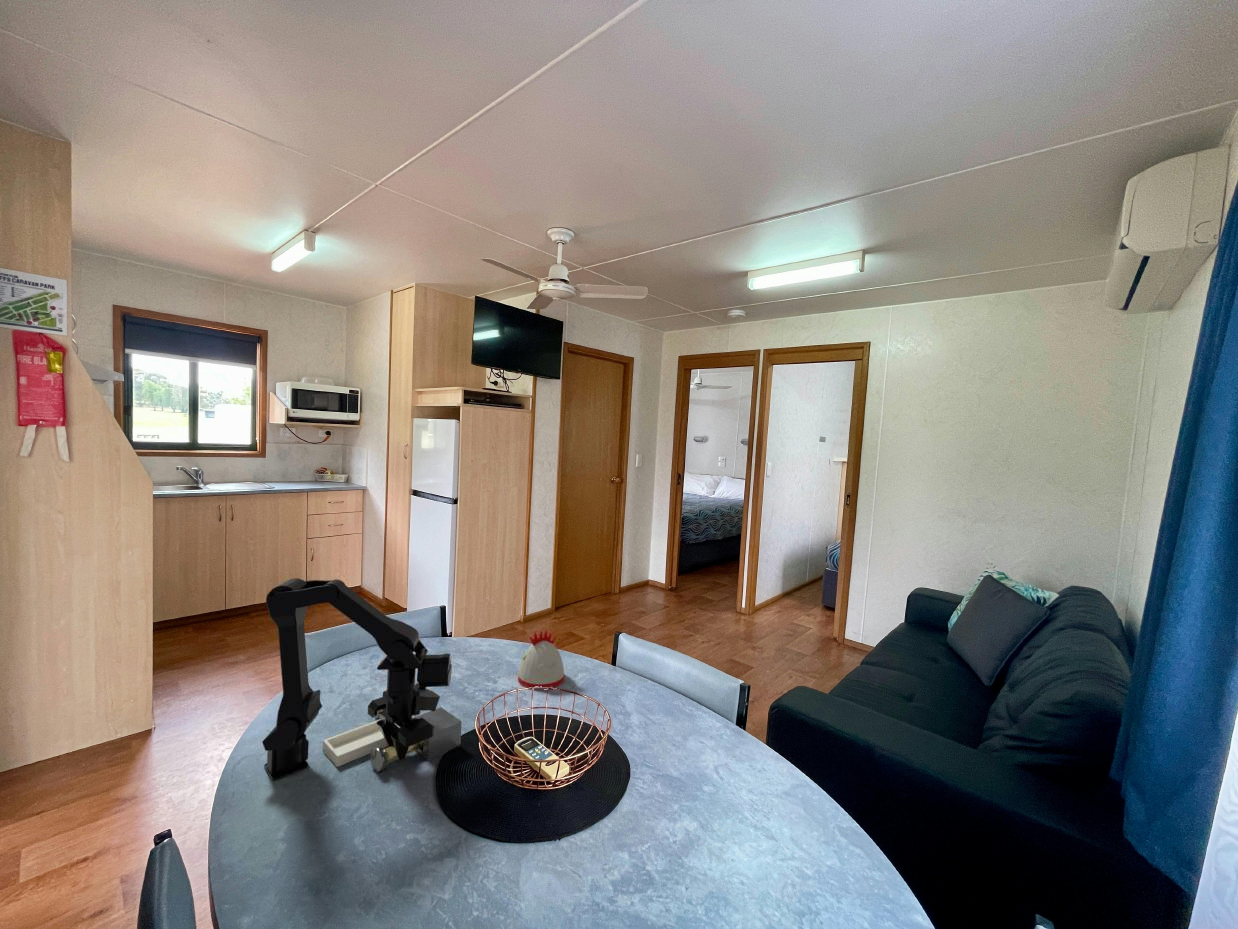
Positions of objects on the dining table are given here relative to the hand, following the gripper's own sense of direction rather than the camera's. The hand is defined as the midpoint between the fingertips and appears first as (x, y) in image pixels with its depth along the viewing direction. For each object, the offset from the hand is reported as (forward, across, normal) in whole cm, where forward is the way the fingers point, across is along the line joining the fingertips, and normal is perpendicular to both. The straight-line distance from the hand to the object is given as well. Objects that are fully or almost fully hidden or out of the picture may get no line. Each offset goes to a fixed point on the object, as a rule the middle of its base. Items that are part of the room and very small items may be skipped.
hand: (398, 756), depth 111 cm
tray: (+1, +11, +1) cm, 11 cm away
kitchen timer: (+1, +9, -49) cm, 49 cm away
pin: (+1, 0, -1) cm, 2 cm away
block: (+1, 0, -9) cm, 9 cm away
